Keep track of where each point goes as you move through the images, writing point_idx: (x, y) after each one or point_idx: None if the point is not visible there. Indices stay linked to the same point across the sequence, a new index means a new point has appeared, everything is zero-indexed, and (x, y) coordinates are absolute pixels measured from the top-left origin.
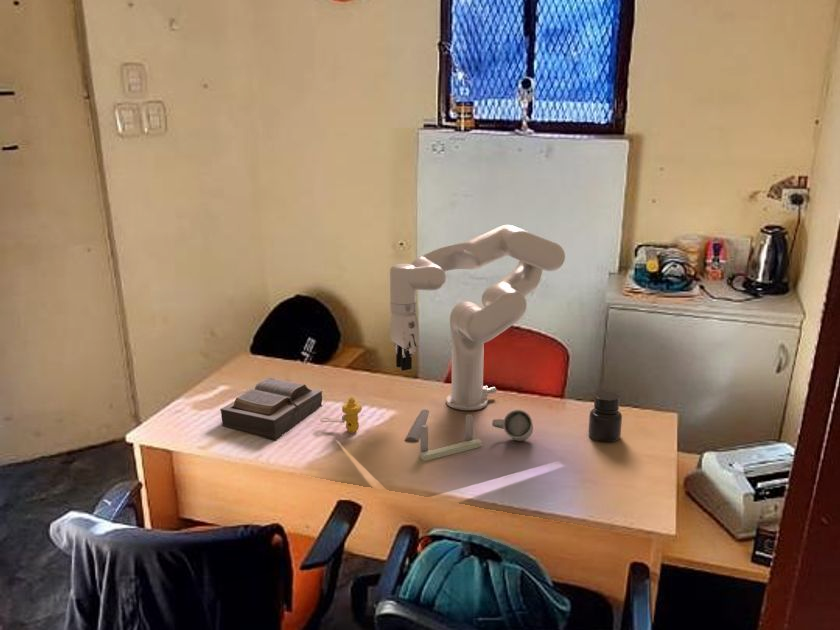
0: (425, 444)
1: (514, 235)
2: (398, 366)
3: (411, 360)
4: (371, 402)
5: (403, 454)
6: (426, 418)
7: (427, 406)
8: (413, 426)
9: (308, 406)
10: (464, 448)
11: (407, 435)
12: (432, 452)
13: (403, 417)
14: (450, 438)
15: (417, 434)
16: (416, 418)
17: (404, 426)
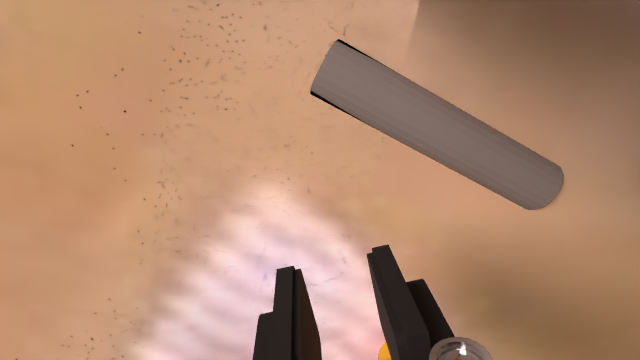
0: None
1: None
2: (319, 336)
3: (409, 292)
4: (155, 253)
5: (619, 235)
6: (400, 84)
7: (244, 30)
8: (463, 162)
9: None
10: None
11: (513, 197)
12: None
13: (335, 167)
14: (599, 35)
15: (534, 164)
16: (381, 125)
17: (418, 183)
